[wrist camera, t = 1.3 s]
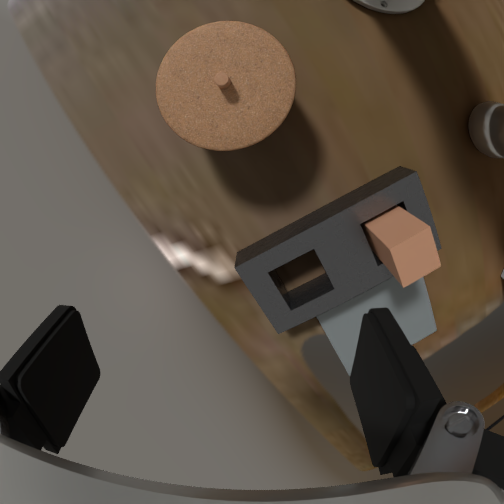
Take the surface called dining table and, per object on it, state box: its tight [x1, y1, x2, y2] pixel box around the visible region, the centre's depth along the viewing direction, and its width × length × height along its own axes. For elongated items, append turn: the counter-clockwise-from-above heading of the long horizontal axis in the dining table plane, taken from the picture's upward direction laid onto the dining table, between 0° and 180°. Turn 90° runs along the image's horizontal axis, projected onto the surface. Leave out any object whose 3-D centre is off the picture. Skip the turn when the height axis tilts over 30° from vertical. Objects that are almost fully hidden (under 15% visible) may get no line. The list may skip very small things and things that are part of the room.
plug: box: [360, 205, 441, 288], centre depth 28 cm, size 4×4×10 cm
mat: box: [316, 276, 437, 376], centre depth 37 cm, size 14×12×1 cm
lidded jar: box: [156, 21, 296, 151], centre depth 24 cm, size 11×11×9 cm
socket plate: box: [235, 166, 441, 334], centre depth 32 cm, size 20×9×4 cm, turn 120°
